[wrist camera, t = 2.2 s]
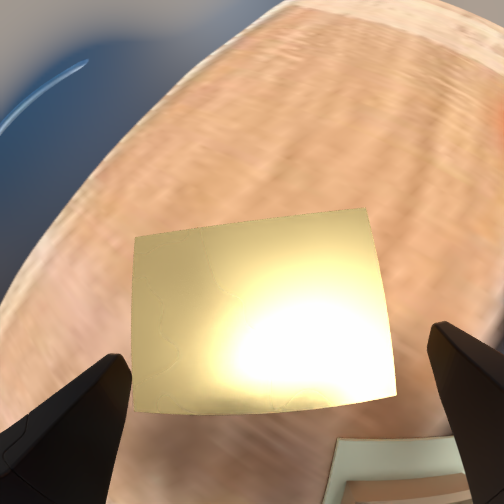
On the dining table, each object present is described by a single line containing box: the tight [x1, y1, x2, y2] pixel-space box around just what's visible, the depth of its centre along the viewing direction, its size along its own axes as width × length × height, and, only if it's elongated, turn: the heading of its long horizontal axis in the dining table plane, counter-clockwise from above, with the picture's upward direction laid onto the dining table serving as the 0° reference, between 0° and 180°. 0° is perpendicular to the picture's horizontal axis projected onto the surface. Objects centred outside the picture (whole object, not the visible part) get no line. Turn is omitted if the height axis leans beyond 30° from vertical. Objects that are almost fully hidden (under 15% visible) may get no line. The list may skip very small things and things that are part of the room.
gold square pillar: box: [131, 208, 396, 415], centre depth 10 cm, size 5×4×12 cm
